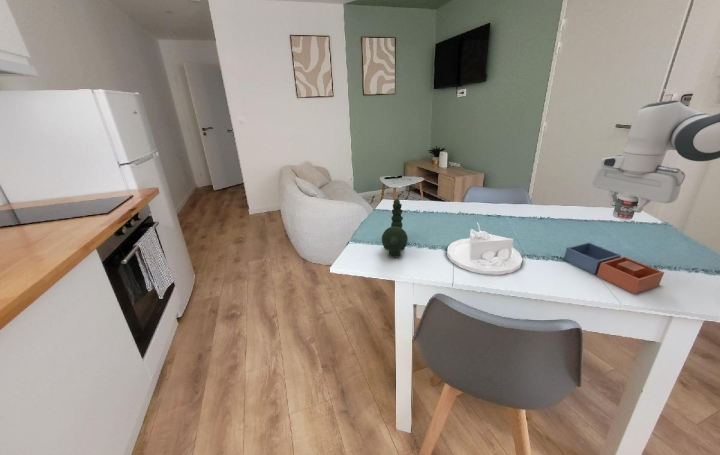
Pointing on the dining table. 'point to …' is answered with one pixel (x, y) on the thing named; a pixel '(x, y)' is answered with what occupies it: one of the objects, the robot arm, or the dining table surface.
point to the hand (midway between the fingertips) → (624, 208)
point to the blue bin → (589, 256)
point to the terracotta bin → (630, 276)
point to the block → (631, 269)
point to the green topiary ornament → (395, 232)
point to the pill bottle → (625, 206)
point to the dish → (485, 253)
